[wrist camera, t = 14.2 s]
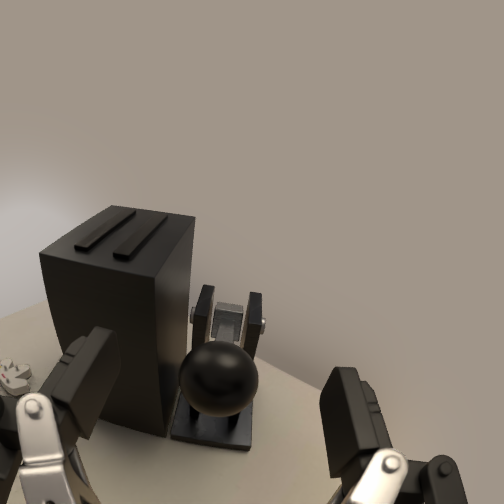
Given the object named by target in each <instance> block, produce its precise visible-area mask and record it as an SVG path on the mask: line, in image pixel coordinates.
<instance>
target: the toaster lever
mask: <svg viewBox="0 0 504 504" xmlns="http://www.w3.org/2000/svg"><path fill="white" fill-rule="evenodd" d="M242 318H243V306H241V305H235V304H228V303H222V302H217V305H216V307H215V311H214V318H213V325H212V332H211V337H212V338H215V341H210V342H206V343H203V344H200V345H199V346H197V347H195V348H194V349H192V350H191V351H190V352H189V353H188V354H187V356H186V357H185V358H184V360H183V362H182V364H181V367H180V370H179V386H180V389H181V392H182V394H183V396H184V398H185V399H186V401H187V402H188V403H189V404H190V405H191V406H192V407H193V408H194V409H196V410H197V411H199V412H200V413H203V414H205V415H208V416H213V417H227V416H231V415H234V414H236V413H238V412H240V411H242V410H243V409H245V408H246V407H247V406H248V405H249V404H250V403H251V401H252V400H253V398H254V396H255V394H256V392H257V388H258V371H257V368H256V365H255V363H254V361H253V360H252V358H251V357H250V356H249V354H248V353H247V352H246V351H244V350H243V349H242V348H240V347H239V346H237V345H235V344H234V341H237V342H238V341H239V337H240V331H241V325H242Z"/></svg>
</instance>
